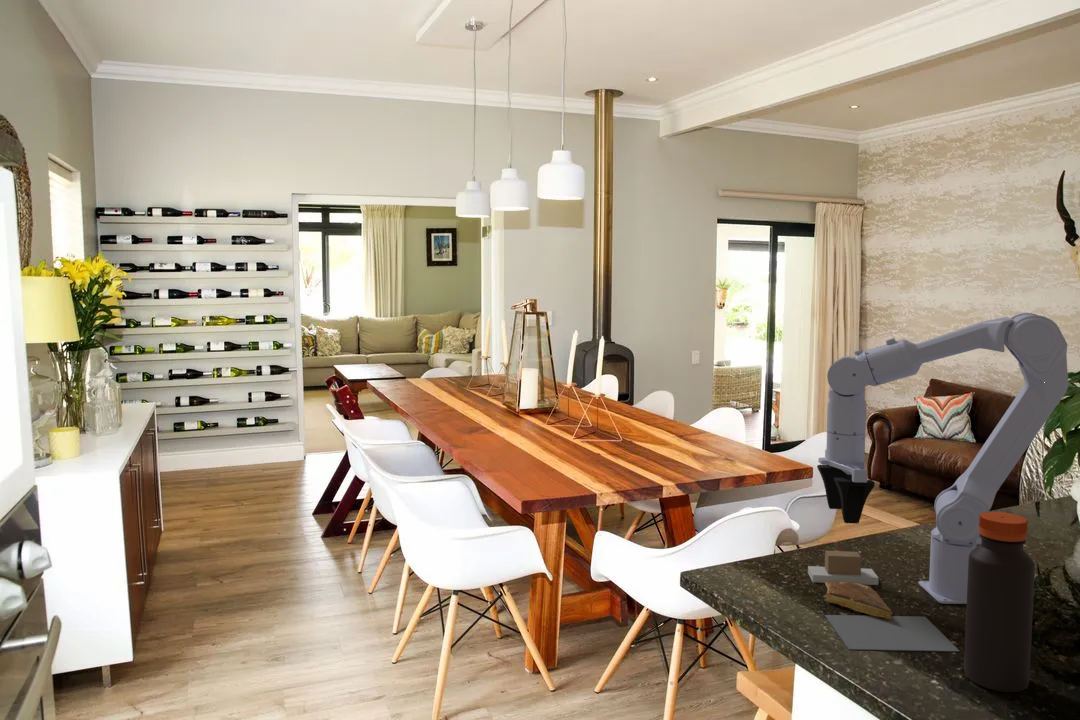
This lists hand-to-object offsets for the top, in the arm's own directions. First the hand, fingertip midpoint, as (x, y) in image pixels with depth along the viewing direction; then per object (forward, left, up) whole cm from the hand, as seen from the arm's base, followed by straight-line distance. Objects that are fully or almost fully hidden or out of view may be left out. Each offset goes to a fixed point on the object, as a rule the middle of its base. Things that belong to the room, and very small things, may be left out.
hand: (843, 515), depth 125 cm
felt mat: (0, +20, -11) cm, 22 cm away
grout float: (0, 0, -11) cm, 11 cm away
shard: (0, +10, -11) cm, 15 cm away
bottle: (-8, +32, -11) cm, 35 cm away
